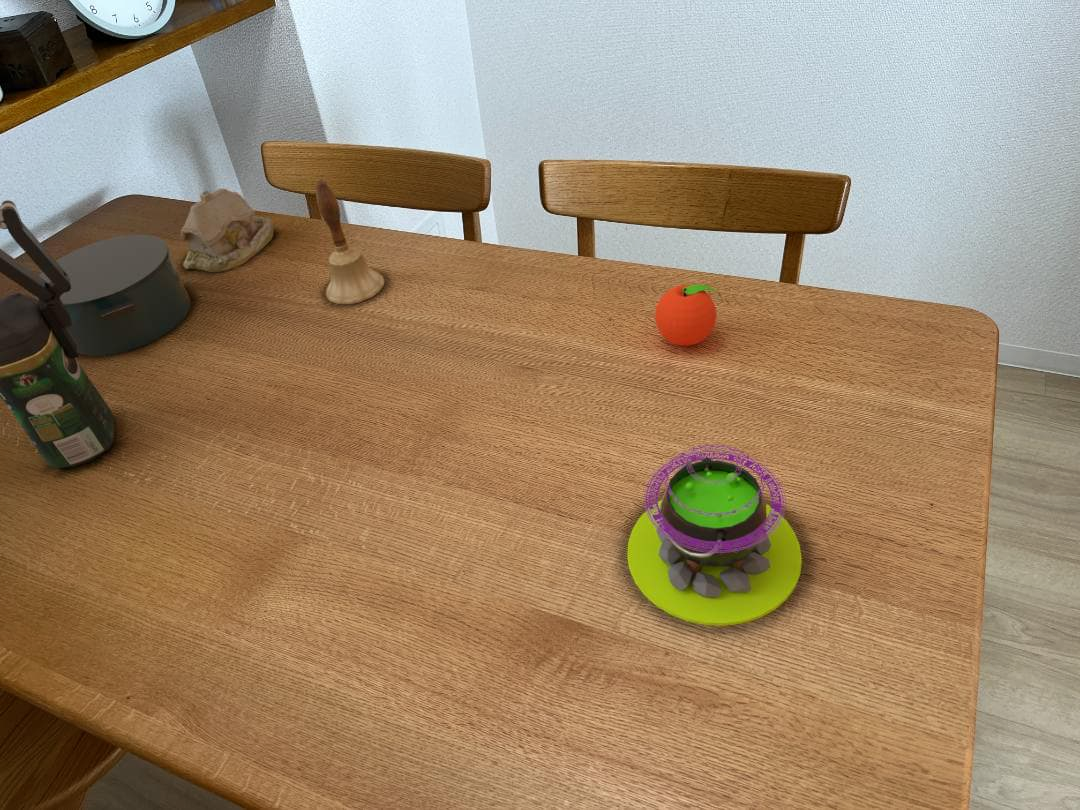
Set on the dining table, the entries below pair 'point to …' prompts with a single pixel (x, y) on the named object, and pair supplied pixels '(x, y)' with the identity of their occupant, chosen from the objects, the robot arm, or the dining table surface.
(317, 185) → the hand bell
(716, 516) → the toy cauldron
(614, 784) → the dining table surface
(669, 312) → the clementine
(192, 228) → the ceramic model
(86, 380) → the coffee jar
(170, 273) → the teal round box
